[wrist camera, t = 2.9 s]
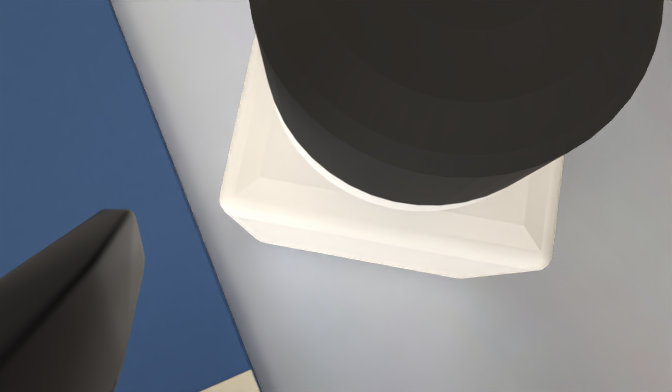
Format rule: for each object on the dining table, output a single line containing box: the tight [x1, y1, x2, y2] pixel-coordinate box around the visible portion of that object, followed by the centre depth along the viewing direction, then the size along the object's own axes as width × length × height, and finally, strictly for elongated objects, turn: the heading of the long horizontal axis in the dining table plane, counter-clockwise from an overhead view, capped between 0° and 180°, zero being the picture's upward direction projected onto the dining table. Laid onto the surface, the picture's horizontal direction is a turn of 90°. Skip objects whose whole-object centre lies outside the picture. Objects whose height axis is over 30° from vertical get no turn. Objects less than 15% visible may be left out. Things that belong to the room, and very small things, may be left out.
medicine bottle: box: [220, 0, 664, 279], centre depth 13 cm, size 7×7×12 cm
